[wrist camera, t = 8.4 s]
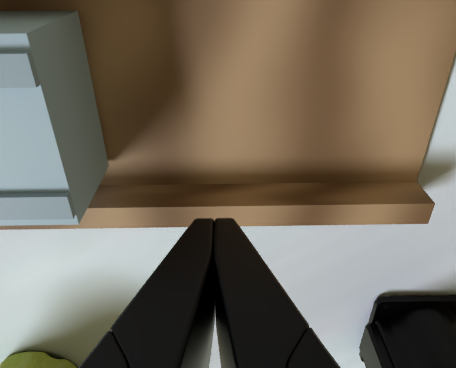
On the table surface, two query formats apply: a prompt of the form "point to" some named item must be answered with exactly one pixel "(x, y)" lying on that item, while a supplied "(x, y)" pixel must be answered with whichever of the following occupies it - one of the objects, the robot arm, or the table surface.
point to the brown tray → (262, 108)
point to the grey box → (47, 120)
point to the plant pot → (35, 361)
